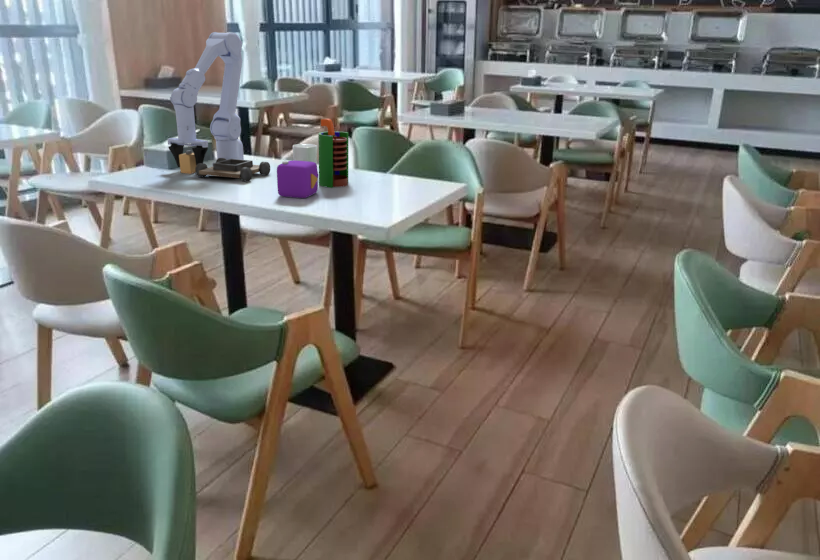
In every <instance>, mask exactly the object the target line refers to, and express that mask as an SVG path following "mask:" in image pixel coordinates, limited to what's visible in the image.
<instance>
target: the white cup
mask: <svg viewBox="0 0 820 560" xmlns="http://www.w3.org/2000/svg"><path fill="white" fill-rule="evenodd" d="M292 155H293V160H295V161H309V162H314V163H316V164H317V165H318V163H317V162H318V145H317V144H314V143H297V144H293V145H292Z"/></svg>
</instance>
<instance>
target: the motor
mask: <svg viewBox="0 0 820 560" xmlns="http://www.w3.org/2000/svg"><path fill="white" fill-rule="evenodd" d="M320 127H326V128H327V131H321V132H320V131H319V132H318V136H317V137H318V186H321V187H324V188H331V189H333V188H341V187H346V186H348V183H349V132H348V131H347V132H346V131H335V128H334V127H335V126H334V122H333V120H332V119H331V118H321V119H320Z"/></svg>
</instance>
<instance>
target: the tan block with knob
mask: <svg viewBox="0 0 820 560" xmlns="http://www.w3.org/2000/svg"><path fill="white" fill-rule="evenodd" d="M179 161H180V167H179V169H180V170H179V171H180V173H181V174H189V175H190V174H194V173H195V174H196V172H195V168H196V160H195V155H194V152H193V150H185V152H183V154H180V155H179Z"/></svg>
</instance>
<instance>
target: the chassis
mask: <svg viewBox="0 0 820 560" xmlns="http://www.w3.org/2000/svg"><path fill="white" fill-rule="evenodd" d="M212 164H213V165H212V166H210V167H208V165H207V164H206V163H204V162H203V163H198V164H197V165H196V168H195V175H196V177H198V178H205V177H207V176H214V177H224V178H235V179H240V180H241V181H242V182H245V183H246V182H250V181H251V180H252V178H253V175H254V174H257V173H259V174H260V175H261V176H269V174H271V173H270V172H271V165H270V163H269V162H268V161H261V162H260V163H259V164H254V163H253V160H250V159H249V160H248V159H244V160H240V159H227V160H226V159H225V158H218V159H217V158H216V162H213V163H212Z"/></svg>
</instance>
